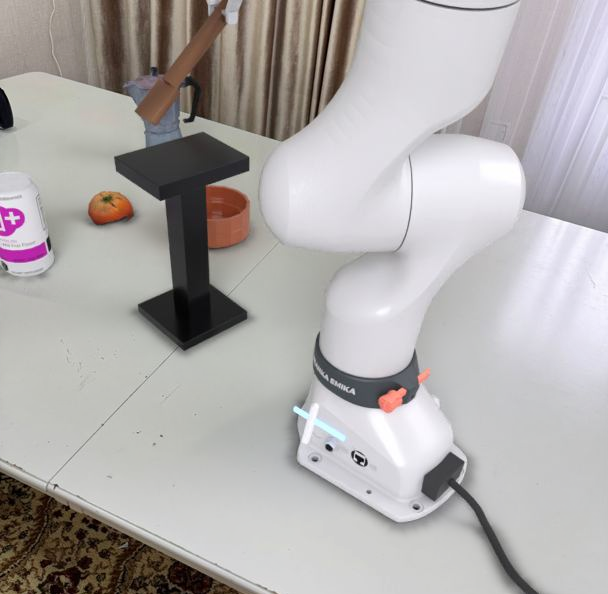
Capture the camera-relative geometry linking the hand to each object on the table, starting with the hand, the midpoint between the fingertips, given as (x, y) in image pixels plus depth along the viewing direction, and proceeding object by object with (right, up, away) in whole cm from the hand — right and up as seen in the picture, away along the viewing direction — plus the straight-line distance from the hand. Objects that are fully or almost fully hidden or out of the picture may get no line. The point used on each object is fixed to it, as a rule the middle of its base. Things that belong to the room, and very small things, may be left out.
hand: (223, 21), depth 91 cm
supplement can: (-34, -34, +13) cm, 50 cm away
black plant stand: (-5, -43, +6) cm, 44 cm away
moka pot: (-18, -7, +46) cm, 50 cm away
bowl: (-5, -26, +25) cm, 37 cm away
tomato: (-25, -23, +27) cm, 43 cm away
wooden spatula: (-4, -6, 0) cm, 7 cm away
